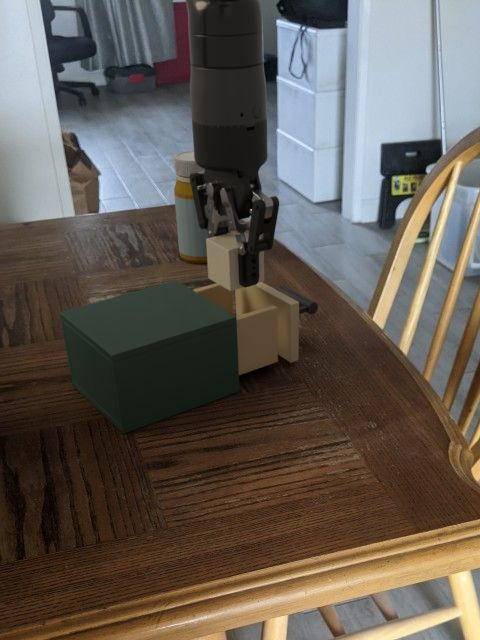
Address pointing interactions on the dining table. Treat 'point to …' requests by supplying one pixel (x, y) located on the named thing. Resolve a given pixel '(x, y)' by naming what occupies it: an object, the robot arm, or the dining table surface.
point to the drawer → (263, 321)
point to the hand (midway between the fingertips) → (236, 277)
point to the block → (227, 261)
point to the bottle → (188, 211)
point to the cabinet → (151, 353)
